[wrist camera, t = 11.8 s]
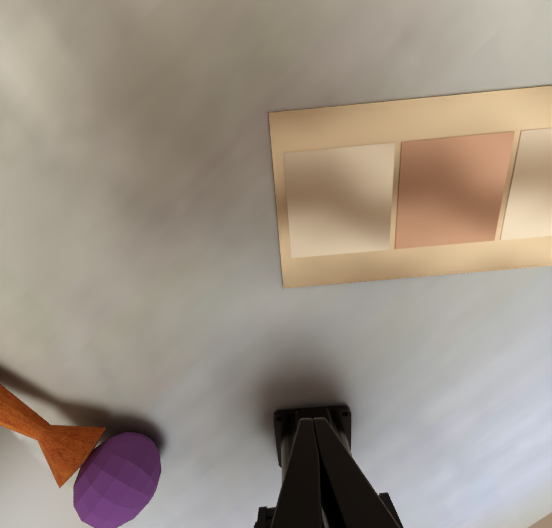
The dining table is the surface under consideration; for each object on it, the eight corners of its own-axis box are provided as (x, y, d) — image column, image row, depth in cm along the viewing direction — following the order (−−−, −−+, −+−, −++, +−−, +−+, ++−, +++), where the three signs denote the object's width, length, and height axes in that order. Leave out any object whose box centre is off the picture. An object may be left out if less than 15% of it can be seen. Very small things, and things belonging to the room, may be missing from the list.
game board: (698, 251, 19) (704, 253, 18) (283, 286, 19) (283, 288, 19) (783, 64, 15) (793, 62, 15) (268, 113, 15) (268, 112, 15)
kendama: (-123, 343, 16) (160, 506, 19) (-20, 311, 22) (183, 439, 24) (-175, 417, 16) (110, 566, 19) (-60, 366, 22) (145, 486, 25)
